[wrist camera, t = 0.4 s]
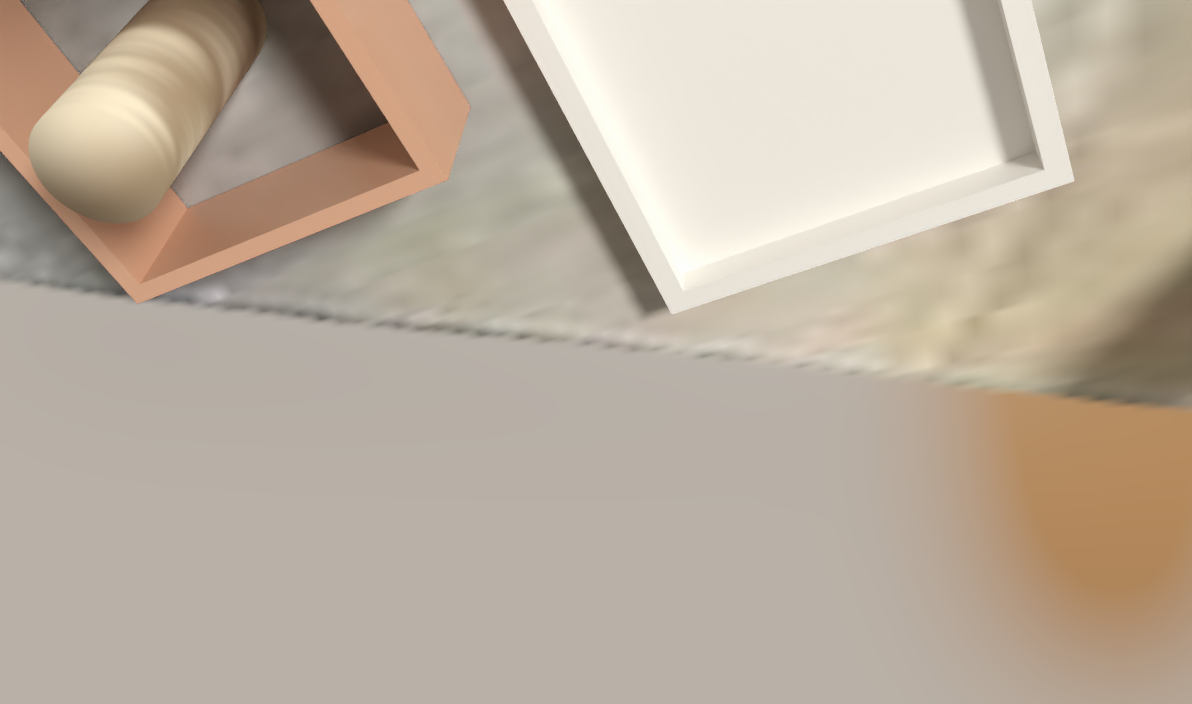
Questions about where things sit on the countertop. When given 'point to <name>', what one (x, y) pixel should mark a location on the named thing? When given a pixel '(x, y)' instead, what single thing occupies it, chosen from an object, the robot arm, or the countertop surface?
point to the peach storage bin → (276, 200)
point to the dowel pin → (144, 106)
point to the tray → (796, 124)
